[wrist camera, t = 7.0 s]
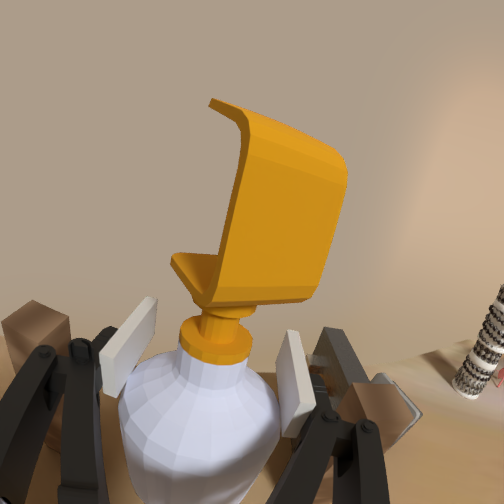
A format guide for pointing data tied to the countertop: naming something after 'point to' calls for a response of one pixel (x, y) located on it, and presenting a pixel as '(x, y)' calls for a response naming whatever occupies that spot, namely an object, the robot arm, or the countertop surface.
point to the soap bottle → (233, 322)
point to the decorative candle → (483, 353)
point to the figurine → (501, 375)
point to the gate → (58, 336)
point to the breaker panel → (334, 367)
